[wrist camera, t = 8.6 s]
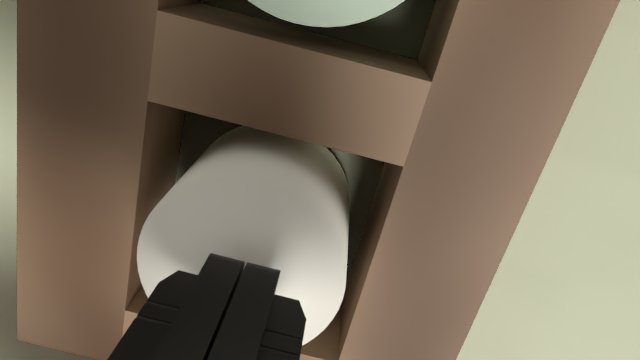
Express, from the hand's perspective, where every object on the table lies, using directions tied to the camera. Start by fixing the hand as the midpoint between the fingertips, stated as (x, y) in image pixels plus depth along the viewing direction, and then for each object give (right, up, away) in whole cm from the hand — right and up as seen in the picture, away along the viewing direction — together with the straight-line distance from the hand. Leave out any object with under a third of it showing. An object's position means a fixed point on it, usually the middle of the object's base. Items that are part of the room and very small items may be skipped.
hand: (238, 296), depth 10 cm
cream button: (0, +2, +4) cm, 5 cm away
